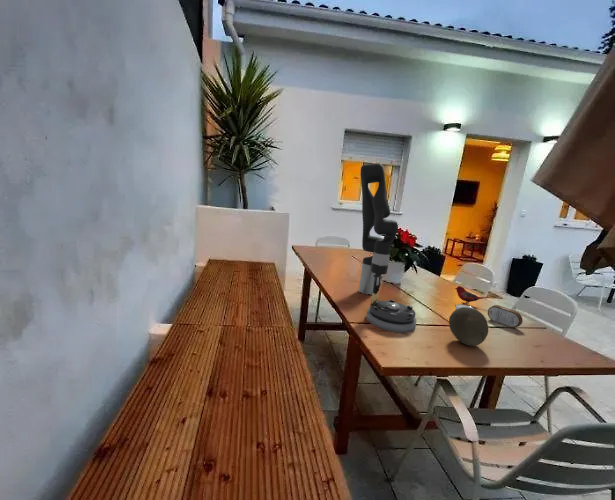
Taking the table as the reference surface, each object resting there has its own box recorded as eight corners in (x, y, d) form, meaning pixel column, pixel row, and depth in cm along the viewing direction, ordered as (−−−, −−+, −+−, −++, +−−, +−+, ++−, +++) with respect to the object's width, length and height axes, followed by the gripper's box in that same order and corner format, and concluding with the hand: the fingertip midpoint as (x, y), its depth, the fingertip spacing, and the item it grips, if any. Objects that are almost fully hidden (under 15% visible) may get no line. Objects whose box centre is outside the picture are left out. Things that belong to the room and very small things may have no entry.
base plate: (381, 308, 156) (382, 303, 156) (423, 324, 142) (424, 318, 141) (357, 318, 140) (357, 312, 140) (401, 337, 126) (402, 330, 125)
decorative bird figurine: (451, 300, 182) (455, 284, 180) (485, 307, 176) (489, 290, 174) (452, 302, 179) (455, 285, 177) (486, 308, 173) (490, 291, 172)
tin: (520, 329, 148) (524, 313, 146) (518, 331, 146) (522, 314, 144) (487, 317, 159) (491, 302, 158) (485, 318, 158) (488, 303, 156)
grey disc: (412, 311, 148) (415, 293, 146) (416, 327, 129) (420, 308, 127) (370, 303, 152) (372, 286, 151) (368, 318, 133) (371, 299, 131)
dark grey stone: (477, 339, 132) (484, 306, 129) (488, 355, 118) (497, 319, 116) (442, 332, 135) (449, 300, 132) (449, 347, 121) (457, 312, 118)
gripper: (371, 258, 148) (366, 291, 152) (372, 264, 136) (366, 301, 139) (387, 260, 147) (381, 294, 151) (389, 267, 134) (382, 304, 138)
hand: (374, 297), depth 145 cm, fingers closed
